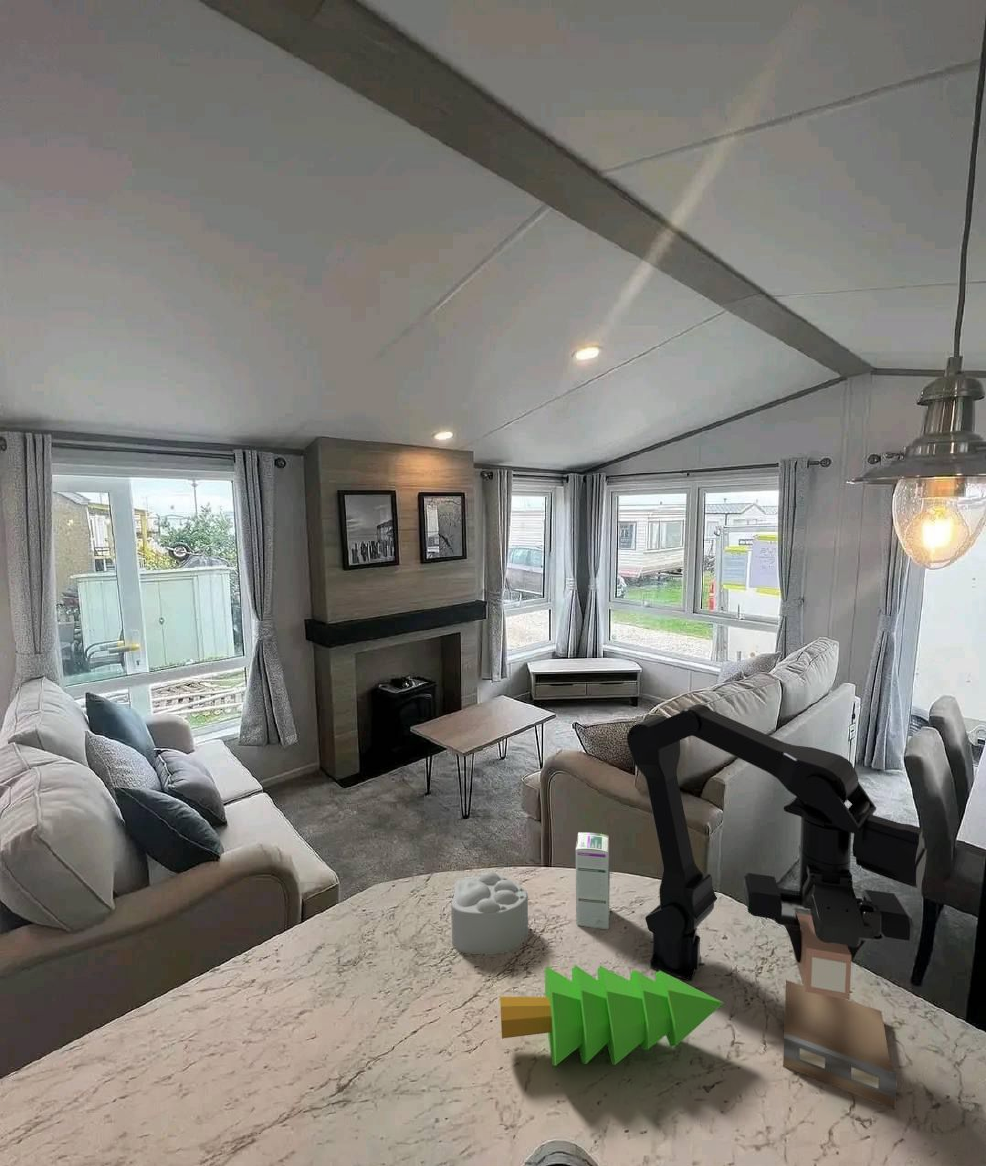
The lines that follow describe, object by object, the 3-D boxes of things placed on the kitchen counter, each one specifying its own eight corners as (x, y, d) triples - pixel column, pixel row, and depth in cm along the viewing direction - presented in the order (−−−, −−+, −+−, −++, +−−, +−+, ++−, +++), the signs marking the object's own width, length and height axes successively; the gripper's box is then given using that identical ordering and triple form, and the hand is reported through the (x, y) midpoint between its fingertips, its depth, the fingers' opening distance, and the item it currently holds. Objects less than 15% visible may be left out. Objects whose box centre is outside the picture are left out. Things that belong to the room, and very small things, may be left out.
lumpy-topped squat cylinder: (456, 911, 105) (455, 867, 104) (527, 913, 104) (527, 868, 104) (449, 954, 95) (449, 904, 94) (528, 955, 94) (528, 905, 93)
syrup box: (609, 930, 100) (610, 851, 98) (575, 926, 101) (575, 847, 99) (609, 909, 105) (610, 833, 104) (576, 905, 106) (577, 830, 105)
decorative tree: (497, 950, 79) (714, 937, 79) (500, 995, 84) (702, 982, 84) (502, 1048, 69) (750, 1032, 69) (504, 1092, 74) (734, 1077, 74)
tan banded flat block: (782, 1067, 74) (784, 1039, 74) (785, 989, 87) (786, 964, 86) (895, 1111, 68) (897, 1080, 68) (880, 1020, 81) (882, 994, 81)
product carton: (793, 953, 80) (794, 912, 80) (833, 960, 79) (835, 919, 78) (805, 992, 73) (807, 949, 73) (850, 1001, 72) (851, 956, 71)
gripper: (756, 877, 70) (753, 996, 71) (937, 903, 64) (929, 1031, 66) (744, 831, 80) (741, 935, 82) (898, 850, 75) (892, 961, 76)
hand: (820, 964), depth 76 cm, fingers closed on product carton, 5 cm apart
